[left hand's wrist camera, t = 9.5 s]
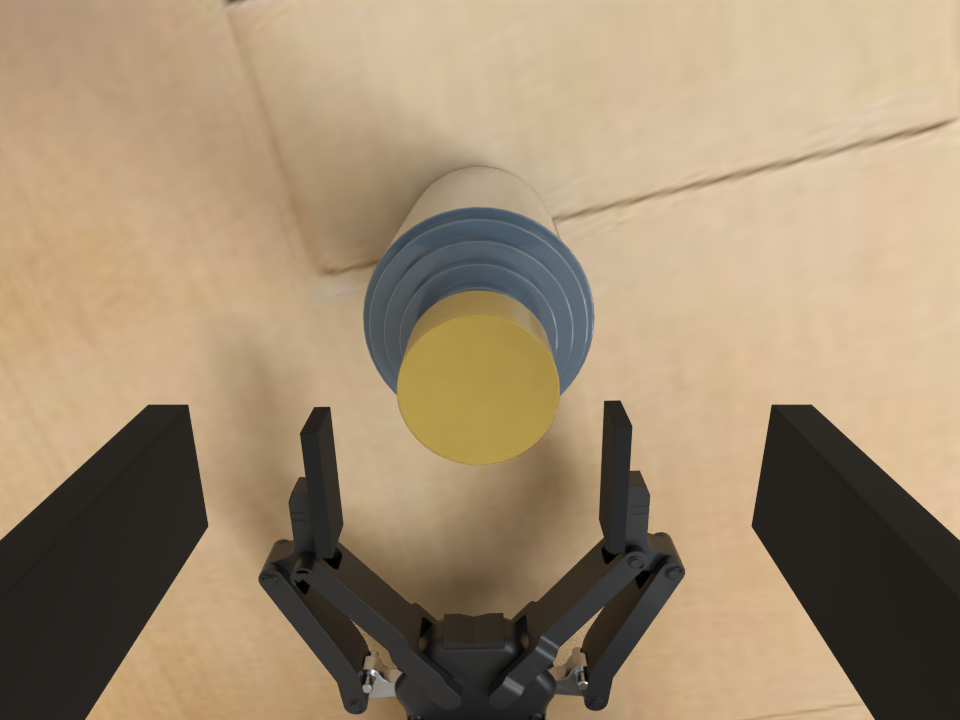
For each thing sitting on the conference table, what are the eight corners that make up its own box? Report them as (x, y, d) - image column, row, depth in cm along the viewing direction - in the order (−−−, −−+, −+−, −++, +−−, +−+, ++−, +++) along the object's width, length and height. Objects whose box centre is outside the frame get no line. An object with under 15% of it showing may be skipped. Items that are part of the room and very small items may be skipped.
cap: (501, 261, 18) (504, 283, 16) (577, 380, 19) (589, 416, 17) (377, 339, 19) (363, 370, 16) (457, 448, 20) (454, 491, 18)
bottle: (502, 135, 33) (528, 176, 15) (579, 264, 35) (678, 427, 17) (376, 219, 34) (268, 344, 17) (458, 338, 36) (437, 557, 19)
